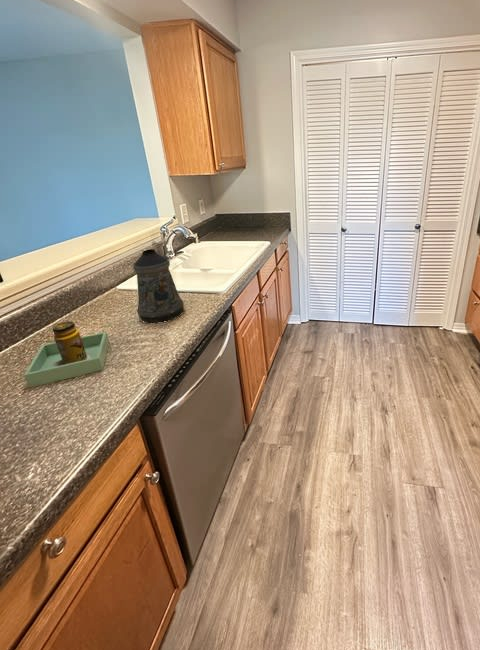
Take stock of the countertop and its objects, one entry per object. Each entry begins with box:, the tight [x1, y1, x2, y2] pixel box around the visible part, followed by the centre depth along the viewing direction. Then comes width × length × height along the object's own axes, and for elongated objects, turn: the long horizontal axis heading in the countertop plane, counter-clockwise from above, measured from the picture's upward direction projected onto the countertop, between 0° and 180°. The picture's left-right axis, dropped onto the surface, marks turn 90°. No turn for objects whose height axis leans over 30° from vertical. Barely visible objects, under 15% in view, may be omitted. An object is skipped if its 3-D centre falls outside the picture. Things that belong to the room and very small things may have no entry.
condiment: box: [52, 321, 92, 367], centre depth 94 cm, size 7×8×12 cm
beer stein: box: [132, 248, 185, 324], centre depth 121 cm, size 16×19×25 cm
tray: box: [23, 331, 110, 388], centre depth 96 cm, size 18×17×4 cm
